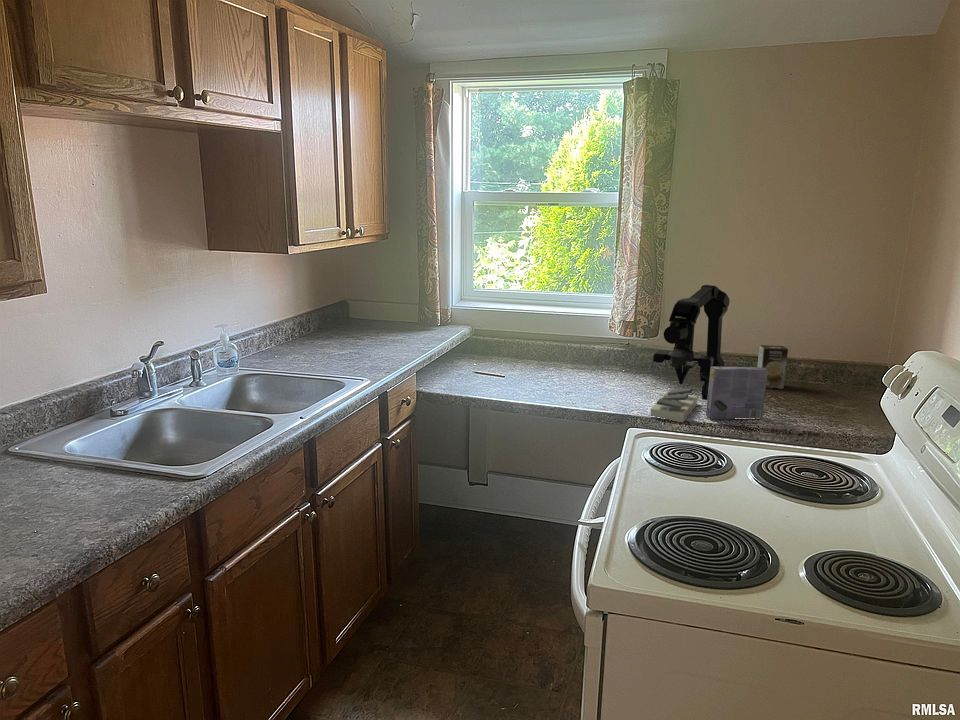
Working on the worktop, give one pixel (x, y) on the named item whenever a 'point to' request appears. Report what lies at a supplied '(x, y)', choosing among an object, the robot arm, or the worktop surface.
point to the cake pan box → (736, 392)
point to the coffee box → (773, 364)
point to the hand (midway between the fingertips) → (681, 384)
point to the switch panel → (675, 413)
